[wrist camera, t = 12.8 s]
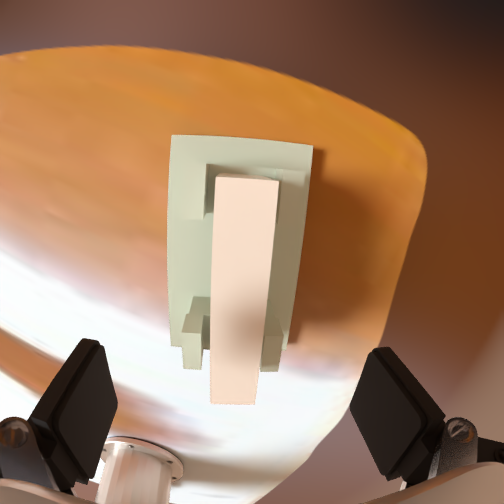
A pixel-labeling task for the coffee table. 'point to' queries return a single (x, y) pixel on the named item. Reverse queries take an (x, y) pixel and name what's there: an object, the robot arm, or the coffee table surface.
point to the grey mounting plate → (201, 233)
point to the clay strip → (240, 283)
